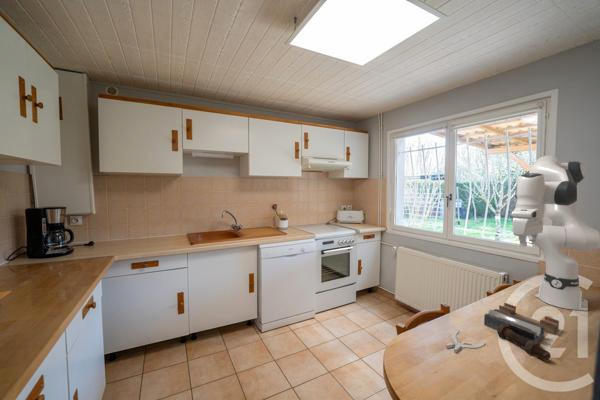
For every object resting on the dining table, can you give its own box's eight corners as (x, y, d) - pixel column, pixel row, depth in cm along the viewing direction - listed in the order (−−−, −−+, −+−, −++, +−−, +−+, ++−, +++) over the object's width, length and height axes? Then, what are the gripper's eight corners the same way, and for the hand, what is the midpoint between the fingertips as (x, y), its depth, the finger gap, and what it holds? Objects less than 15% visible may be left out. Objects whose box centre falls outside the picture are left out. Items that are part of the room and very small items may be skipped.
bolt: (544, 367, 82) (499, 339, 97) (555, 358, 83) (509, 331, 98) (539, 354, 81) (494, 327, 96) (550, 345, 82) (504, 320, 97)
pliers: (485, 340, 92) (465, 355, 84) (485, 345, 92) (465, 359, 84) (457, 328, 100) (436, 339, 92) (457, 331, 100) (436, 344, 92)
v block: (495, 318, 109) (495, 308, 109) (544, 337, 96) (544, 326, 95) (484, 325, 104) (484, 314, 104) (533, 346, 91) (534, 334, 90)
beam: (504, 311, 116) (505, 302, 116) (558, 330, 101) (559, 320, 100) (498, 314, 113) (499, 305, 113) (553, 334, 98) (553, 324, 97)
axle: (488, 318, 106) (488, 310, 106) (492, 316, 108) (492, 308, 108) (537, 338, 92) (538, 329, 92) (541, 335, 94) (541, 326, 94)
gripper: (529, 210, 111) (528, 240, 112) (509, 212, 101) (508, 246, 101) (548, 211, 105) (547, 243, 106) (529, 214, 95) (527, 249, 96)
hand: (527, 244), depth 104 cm, fingers open, 8 cm apart
